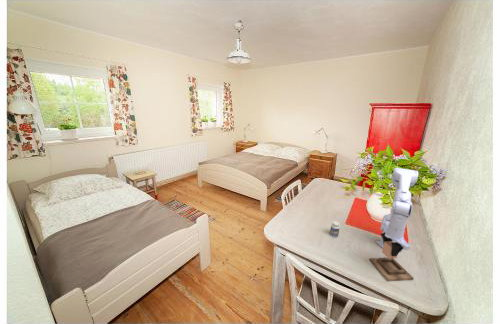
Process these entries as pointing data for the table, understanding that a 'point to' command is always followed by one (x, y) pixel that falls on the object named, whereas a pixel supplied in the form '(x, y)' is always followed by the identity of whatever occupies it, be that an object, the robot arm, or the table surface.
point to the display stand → (390, 269)
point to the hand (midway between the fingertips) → (390, 252)
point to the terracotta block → (388, 249)
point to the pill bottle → (335, 229)
